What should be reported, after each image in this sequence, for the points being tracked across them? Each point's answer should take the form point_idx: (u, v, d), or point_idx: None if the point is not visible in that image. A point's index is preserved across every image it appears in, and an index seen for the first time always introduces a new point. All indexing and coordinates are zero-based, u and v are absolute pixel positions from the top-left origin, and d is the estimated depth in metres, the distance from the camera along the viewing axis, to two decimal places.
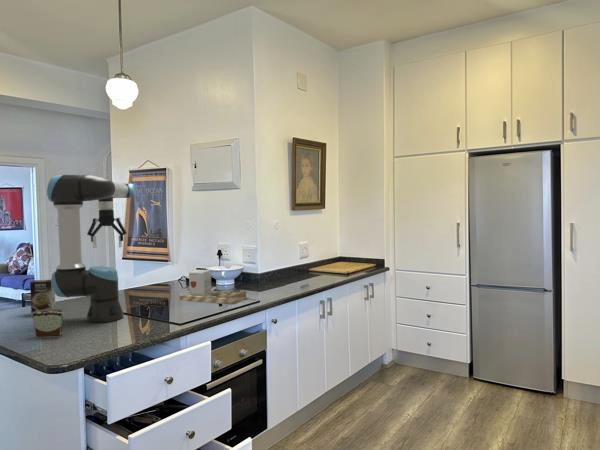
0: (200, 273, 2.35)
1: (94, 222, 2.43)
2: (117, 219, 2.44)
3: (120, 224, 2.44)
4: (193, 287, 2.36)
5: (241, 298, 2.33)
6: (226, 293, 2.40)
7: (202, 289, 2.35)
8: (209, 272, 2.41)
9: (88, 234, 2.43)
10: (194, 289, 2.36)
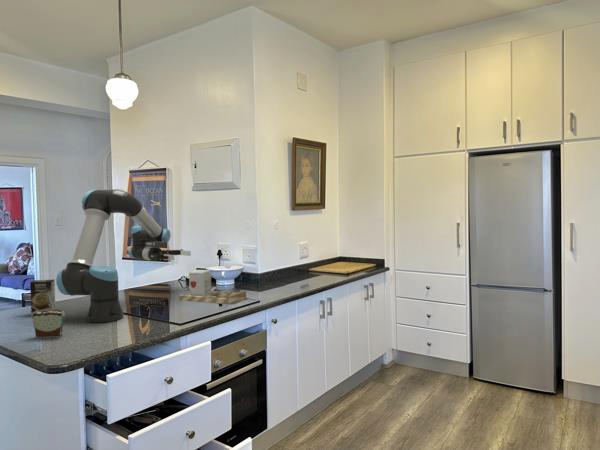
0: (200, 273, 2.35)
1: (154, 253, 2.43)
2: None
3: None
4: (193, 287, 2.36)
5: (241, 298, 2.33)
6: (226, 293, 2.40)
7: (202, 289, 2.35)
8: (209, 272, 2.41)
9: (159, 255, 2.37)
10: (194, 289, 2.36)
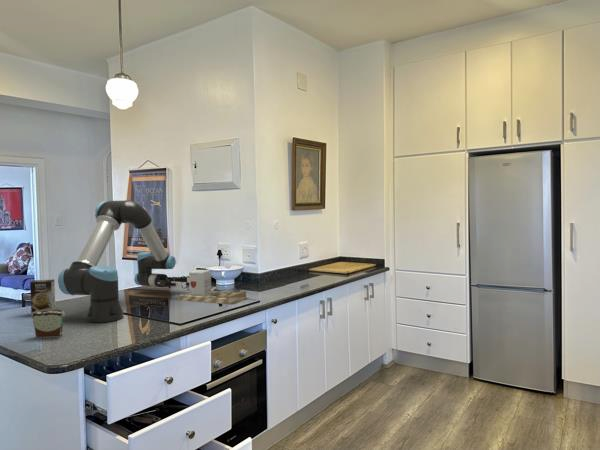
0: (200, 273, 2.35)
1: (161, 280, 2.43)
2: None
3: (179, 277, 2.55)
4: (193, 287, 2.36)
5: (241, 298, 2.33)
6: (226, 293, 2.40)
7: (202, 289, 2.35)
8: (209, 272, 2.41)
9: (166, 282, 2.37)
10: (194, 289, 2.36)
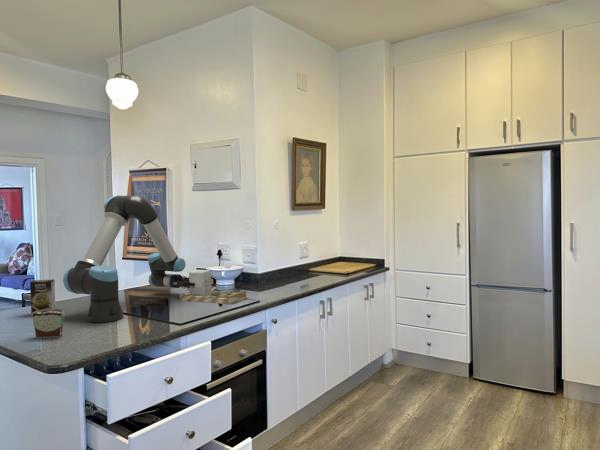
0: (200, 273, 2.35)
1: (177, 281, 2.39)
2: None
3: None
4: (193, 287, 2.36)
5: (241, 298, 2.33)
6: (226, 293, 2.40)
7: (202, 289, 2.35)
8: (209, 272, 2.41)
9: (185, 282, 2.34)
10: (193, 289, 2.36)
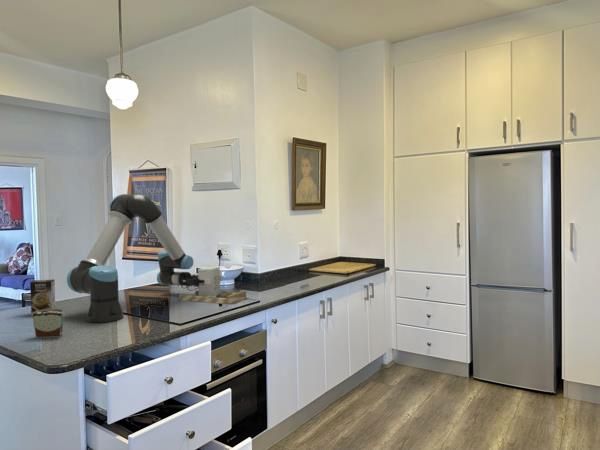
0: (209, 270, 2.33)
1: (186, 278, 2.36)
2: None
3: None
4: (203, 284, 2.34)
5: (241, 298, 2.33)
6: (226, 293, 2.40)
7: (211, 286, 2.33)
8: (218, 269, 2.39)
9: (195, 279, 2.32)
10: (203, 286, 2.34)
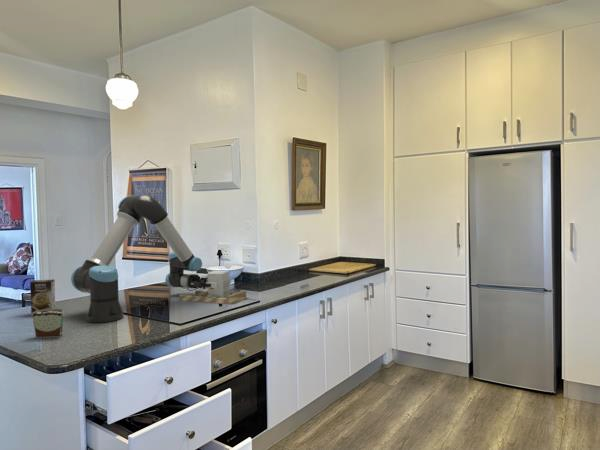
0: (219, 274, 2.30)
1: (194, 281, 2.34)
2: (206, 277, 2.45)
3: None
4: (212, 289, 2.31)
5: (241, 298, 2.33)
6: None
7: (220, 290, 2.30)
8: (228, 273, 2.36)
9: (201, 282, 2.28)
10: (212, 290, 2.31)
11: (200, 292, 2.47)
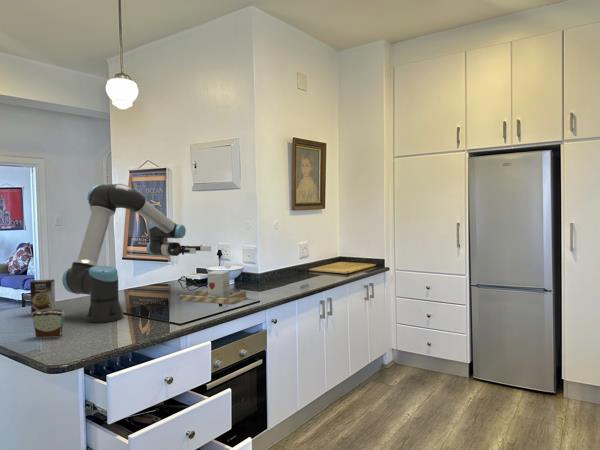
0: (219, 274, 2.30)
1: (174, 248, 2.38)
2: (187, 246, 2.50)
3: (192, 246, 2.50)
4: (212, 289, 2.31)
5: (241, 298, 2.33)
6: None
7: (220, 290, 2.30)
8: (228, 273, 2.36)
9: (180, 248, 2.33)
10: (212, 290, 2.31)
11: (200, 292, 2.47)
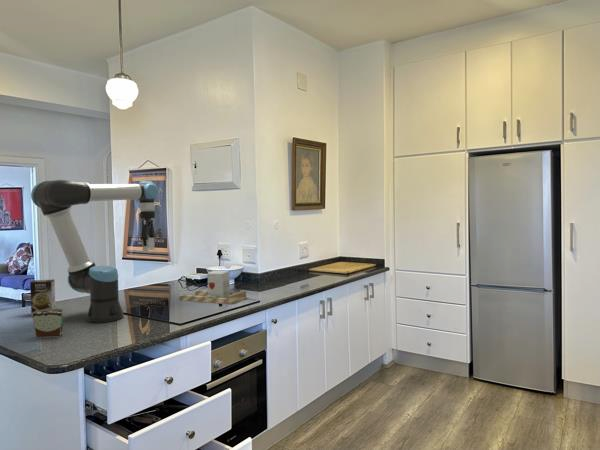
0: (219, 274, 2.30)
1: None
2: None
3: None
4: (212, 289, 2.31)
5: (241, 298, 2.33)
6: None
7: (220, 290, 2.30)
8: (228, 273, 2.36)
9: None
10: (212, 290, 2.31)
11: (200, 292, 2.47)
